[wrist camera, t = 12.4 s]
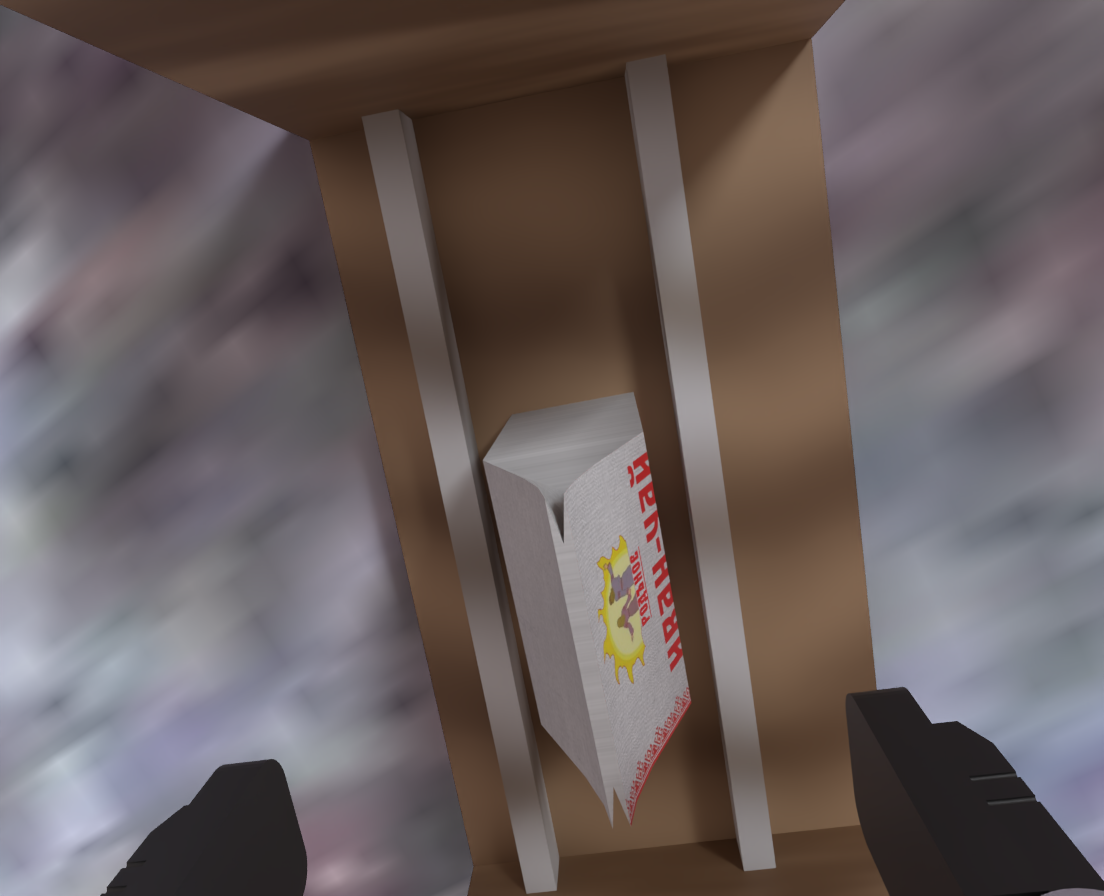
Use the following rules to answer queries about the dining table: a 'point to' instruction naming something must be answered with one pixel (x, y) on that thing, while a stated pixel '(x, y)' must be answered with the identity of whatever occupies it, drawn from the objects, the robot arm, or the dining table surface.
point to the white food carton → (591, 587)
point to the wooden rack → (590, 380)
